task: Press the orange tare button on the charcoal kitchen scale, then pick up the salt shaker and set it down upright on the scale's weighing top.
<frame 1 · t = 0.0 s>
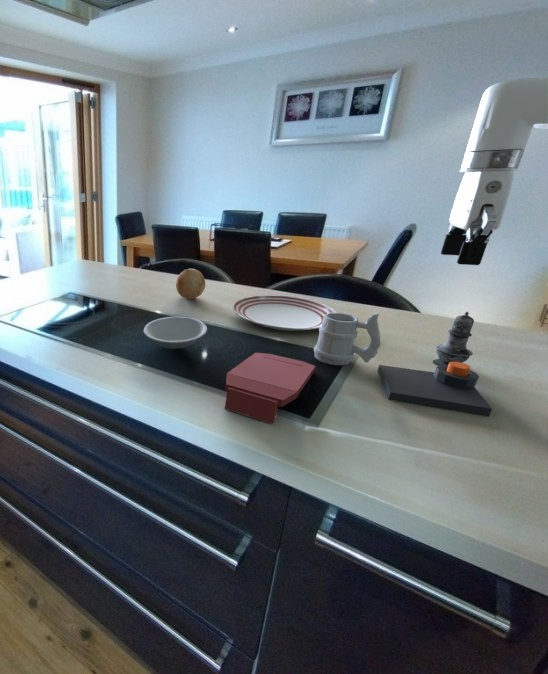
hand: (458, 259, 75), 22 cm above the table, tool pointing down, fingers open, 9 cm apart
dish: (174, 347, 95), on the table
tare button: (458, 369, 72), point 4 cm above the table, slide at 0.2 cm
dinner plate: (281, 320, 111), on the table
carton: (268, 387, 76), on the table
mug: (341, 362, 86), on the table
onion: (189, 298, 133), on the table
scale: (426, 392, 73), on the table
salt shaker: (448, 366, 82), on the table
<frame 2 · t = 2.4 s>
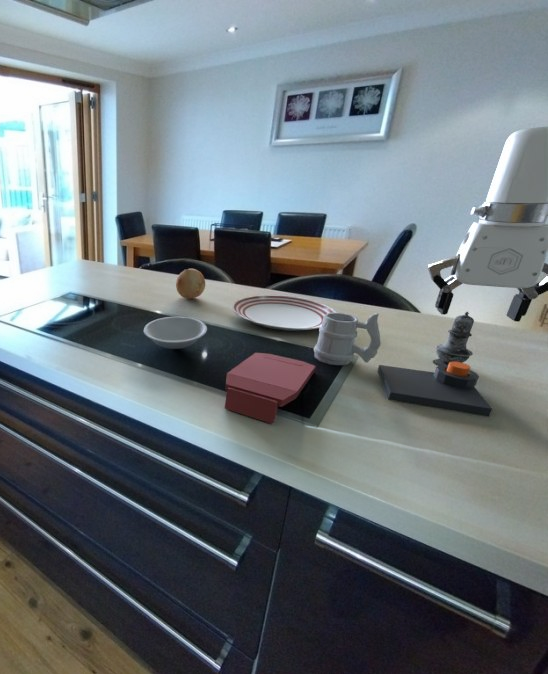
hand: (476, 315, 69), 15 cm above the table, tool pointing down, fingers open, 9 cm apart
nothing on the table moved.
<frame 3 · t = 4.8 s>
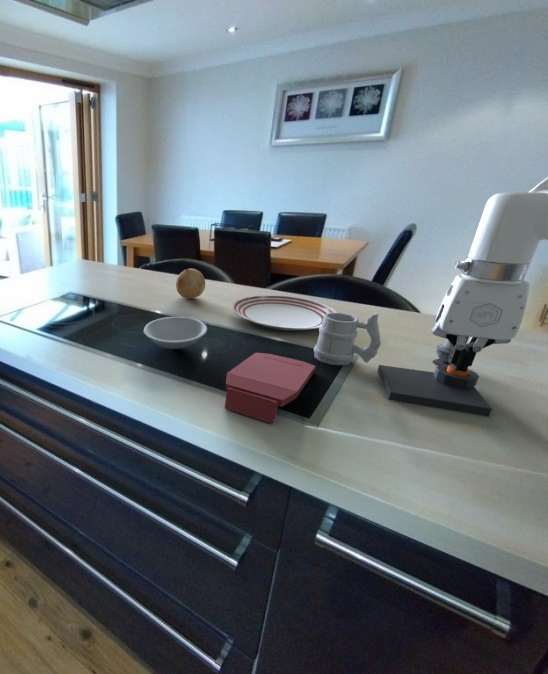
hand: (457, 367, 72), 4 cm above the table, tool pointing down, fingers closed
tare button: (457, 372, 73), point 3 cm above the table, slide at -0.5 cm, touching gripper
everything else where it was.
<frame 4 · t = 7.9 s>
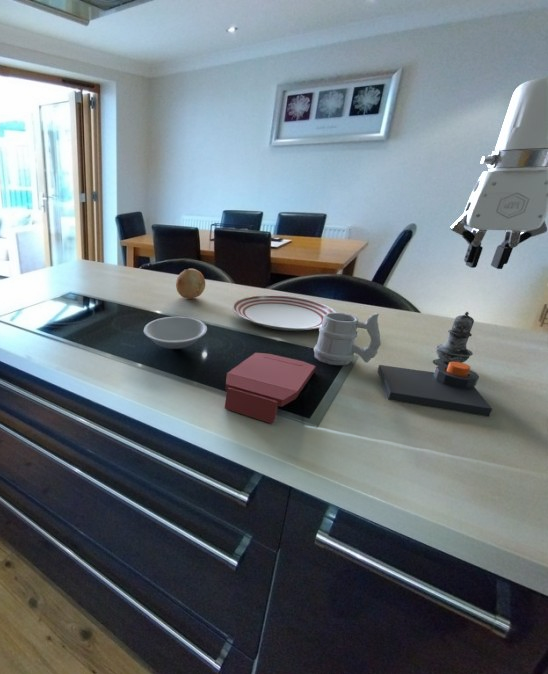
hand: (483, 266, 74), 21 cm above the table, tool pointing down, fingers open, 3 cm apart
tare button: (458, 369, 72), point 4 cm above the table, slide at 0.1 cm
everything else where it was.
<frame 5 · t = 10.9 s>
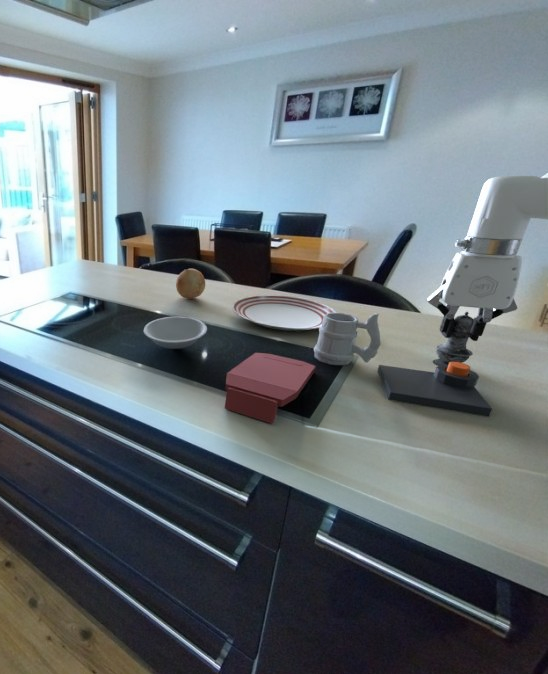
hand: (458, 336, 80), 7 cm above the table, tool pointing down, fingers closed on salt shaker, 3 cm apart
salt shaker: (448, 366, 82), on the table, touching gripper
everything else where it was.
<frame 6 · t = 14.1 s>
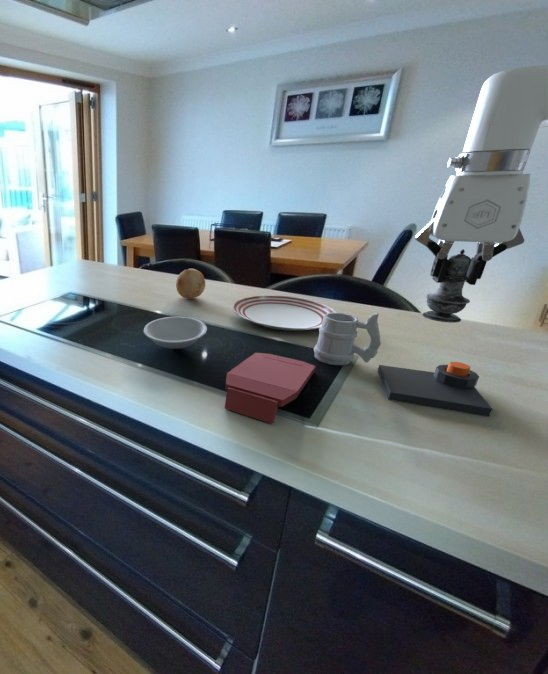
hand: (453, 280, 66), 21 cm above the table, tool pointing down, fingers closed on salt shaker, 3 cm apart
salt shaker: (440, 318, 69), point 14 cm above the table, touching gripper
everything else where it was.
when the fingers open (8 cm above the table, at t = 17.6 s): salt shaker stays where it is, resting on scale.
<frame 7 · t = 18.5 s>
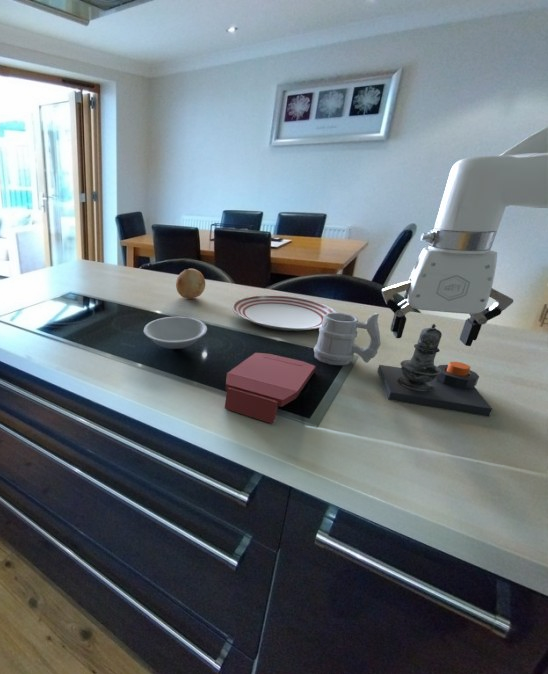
hand: (429, 339, 69), 11 cm above the table, tool pointing down, fingers open, 9 cm apart
salt shaker: (414, 385, 72), point 2 cm above the table, touching scale
everything else where it was.
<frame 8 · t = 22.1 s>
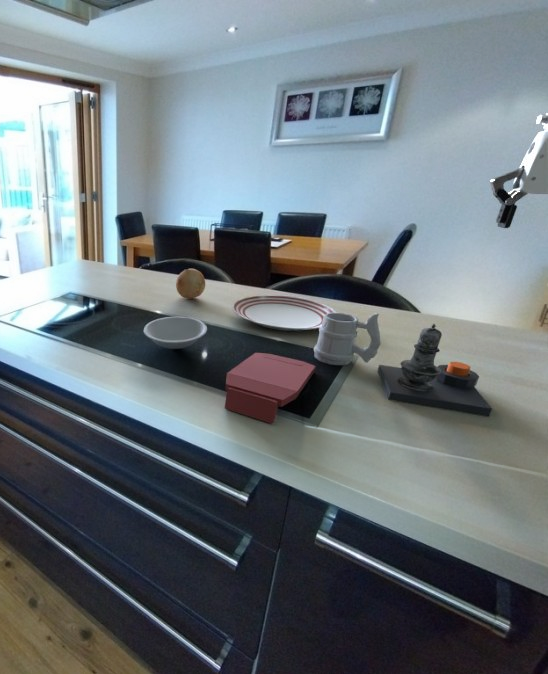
hand: (538, 227, 70), 28 cm above the table, tool pointing down, fingers open, 9 cm apart
nothing on the table moved.
at the end: tare button pushed in 1.1 cm at the most during the clip, back to where it started at the end; salt shaker touching scale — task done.
